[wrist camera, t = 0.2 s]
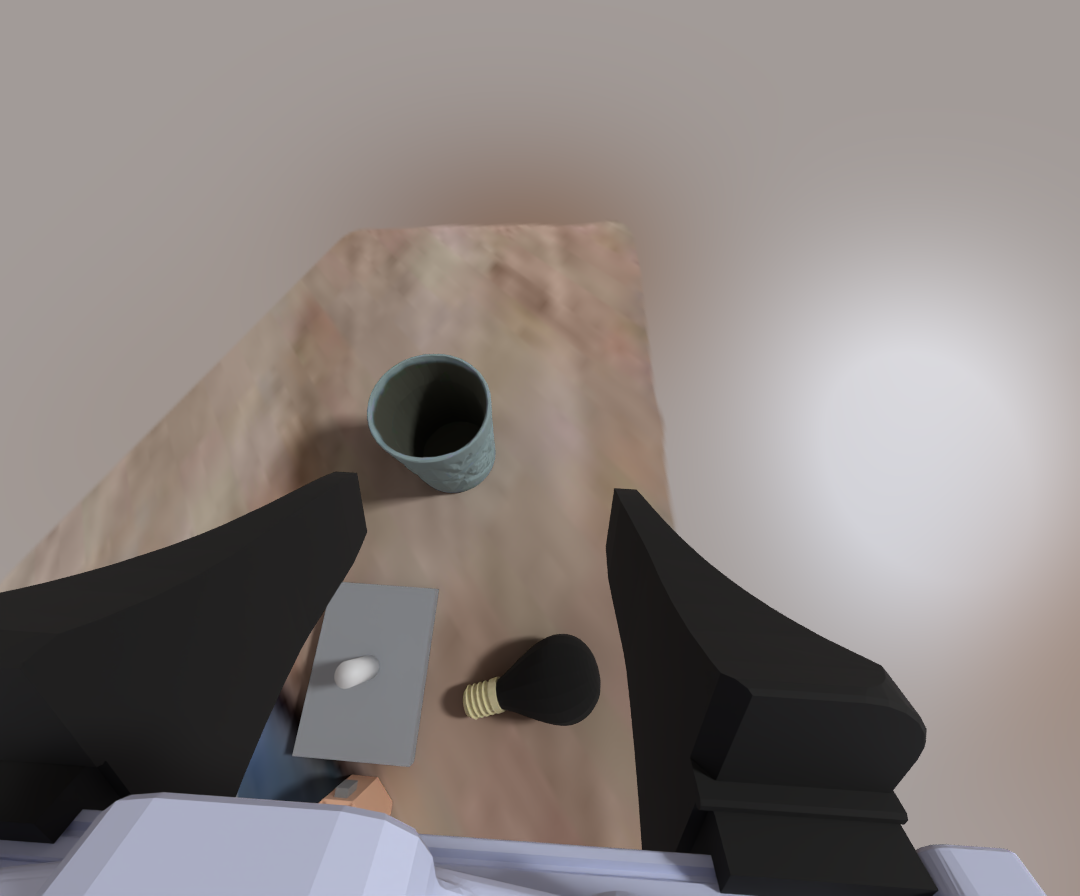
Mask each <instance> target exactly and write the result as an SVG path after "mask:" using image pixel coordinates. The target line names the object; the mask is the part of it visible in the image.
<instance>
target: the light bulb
mask: <svg viewBox="0 0 1080 896" xmlns="http://www.w3.org/2000/svg"><path fill="white" fill-rule="evenodd" d="M599 695H600V675H599V670H598V666H597V663H596V660H595V658H594V656H593V654H592V652H591V650H590V649H589V648H588V647H587V645H586V644H585V643H584V642H583V641H581V640H580V639H578V638H577V637H575V636H572V635H568V634H556V635H552V636H549V637H547V638H545V639H543V640H542V641H540V642H538V643H537V644H535V645H534V646H533V647H532V648H530V649H529V650H528V651H527V652H526V653H525V654H524V655H523V656H522V657H521V658H520V659H519V660H518V661H517V662H516V663H515V664H514V665H513V666H512V667H511V668H510V669H509V670H508V671H507V672H506V673H505V674H504V675H503V676H502V677H495V678H491V679H490V680H489V682H488V681H486V680H485V681H484V682H483V683H482V682H481V681H480V682H479V683H478V684H476V683H474V684H473V686H472V685H468V686H467V689H465V691H464V695H463V706H464V710H465V713H466V715H467V716H468V717H470V718H471V717H472V718H473V719H478V718H479V717H480V718H483V717H484V716H487V717H488V716H489V715H494V714H495V713H498V714H499V713H502V712H505V711H506V710H509V711H513V712H516V713H519V714H522V715H524V716H527V717H530V718H533V719H535V720H538V721H542V722H545V723H549V724H553V725H561V726H567V725H573V724H576V723H578V722H580V721H582V720H583V719H585V718H586V717H587V716H588V715H589V714H590V713H591V712H592V710H593V709H594V707H595V705H596V703H597V701H598V699H599Z"/></svg>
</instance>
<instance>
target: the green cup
mask: <svg viewBox="0 0 1080 896" xmlns="http://www.w3.org/2000/svg"><path fill="white" fill-rule="evenodd" d="M367 420H368V426H369V429H370V431H371V434H372V436H373V437H374V439H375V440H376V442H377V443H378V444H379V445H380V446H381V447H382V448H383V449H384V450H385V451H386V452H388V453H389V454H390V455H392V456H393V457H394V458H396V459H397V460H398V461H400V462H401V463H403V464H404V465H405V466H406V467H407V468H408V469H409V470H410V471H412V472H413V473H415V474H417V475H418V476H419V477H420V478H421V479H422V480H423V481H425V482H426V483H427V484H429V485H430V486H431V487H433V488H435V489H437V490H439V491H443V492H448V493H457V492H463V491H467V490H469V489H471V488H474V487H475V486H477V485H478V484H480V483H481V482H482V481H483V480H484V479H485V478H486V477H487V475H488V474H489V472H490V471H491V469H492V467H493V464H494V460H495V443H494V434H493V422H492V407H491V395H490V391H489V388H488V385H487V383H486V381H485V379H484V378H483V376H482V375H481V374H480V373H479V372H478V371H477V370H476V369H475V368H474V367H473V366H472V365H470V364H469V363H467V362H465V361H464V360H462V359H460V358H457V357H454V356H451V355H445V354H424V355H420V356H415V357H411V358H409V359H407V360H404V361H402V362H400V363H399V364H397V365H395V366H394V367H392V368H391V369H390V370H388V371H387V372H386V373H385V374H384V375H383V376H382V377H381V378H380V380H379V381H378V382H377V384H376V385H375V387H374V389H373V391H372V393H371V395H370V398H369V402H368V408H367Z"/></svg>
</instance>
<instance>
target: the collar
mask: <svg viewBox="0 0 1080 896" xmlns="http://www.w3.org/2000/svg"><path fill="white" fill-rule="evenodd" d="M319 803H320V804H334V805H347V806H351V807H356V808H361V809H366V810H371V811H376V812H381V813H385V814H387V815H389V816H390V815H391V808H392V800H391V798H390V797H389V795H388V793H387V792H386V790H385V788H384V787H383V785H382V783H381V782H380V780H379V778H378V777H372V776H361V775H351V776H350V777H348V778H347V779H345V780H344V781H343V782H342V783H341V784H340V785H338V786H337V787H336V788H335V789H334V790H333V791H332V792H331V793H329V794H328V795H327V796H326V797H325V798H324V799H322V800H321V801H320V802H319Z"/></svg>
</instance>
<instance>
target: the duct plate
mask: <svg viewBox="0 0 1080 896" xmlns="http://www.w3.org/2000/svg"><path fill="white" fill-rule="evenodd" d="M438 592H439V589H430V588H416V587H402V586H388V585H375V584H361V583H347V582H342V583H341V585H340V586H339V588H338V589H337V591H336V593H335V594H334V596H333V597H332V599H331V601H330V602H329V604H328V605H327V607H326V611H325V616H324V620H323V624H322V629H321V633H320V637H319V642H318V646H317V650H316V655H315V659H314V663H313V668H312V672H311V676H310V681H309V685H308V690H307V694H306V698H305V703H304V707H303V711H302V716H301V720H300V724H299V729H298V733H297V737H296V742H295V746H294V750H293V755H292V756H299V757H309V758H320V759H331V760H342V761H352V762H363V763H374V764H385V765H395V766H406V767H410V766H411V765H412V763H413V762H414V757H415V751H416V744H417V737H418V730H419V723H420V716H421V709H422V702H423V695H424V688H425V682H426V675H427V668H428V661H429V654H430V647H431V640H432V633H433V626H434V620H435V613H436V606H437V599H438Z"/></svg>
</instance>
